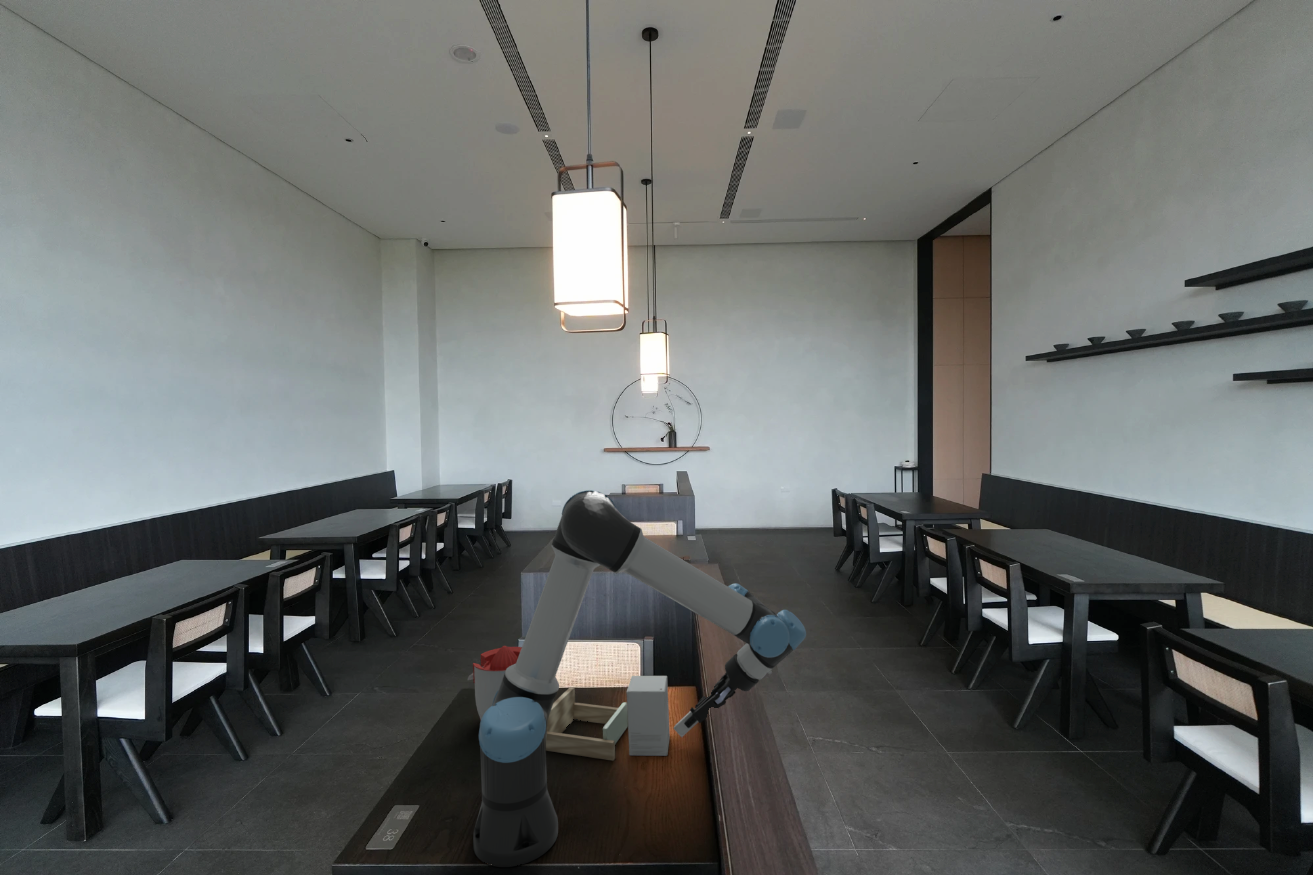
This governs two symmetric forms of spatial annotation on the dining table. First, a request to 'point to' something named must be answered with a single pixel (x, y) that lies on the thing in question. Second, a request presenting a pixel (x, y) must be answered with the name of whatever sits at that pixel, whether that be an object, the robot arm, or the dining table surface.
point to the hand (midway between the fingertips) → (678, 731)
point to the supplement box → (648, 716)
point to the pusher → (616, 724)
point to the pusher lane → (573, 744)
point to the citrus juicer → (491, 674)
